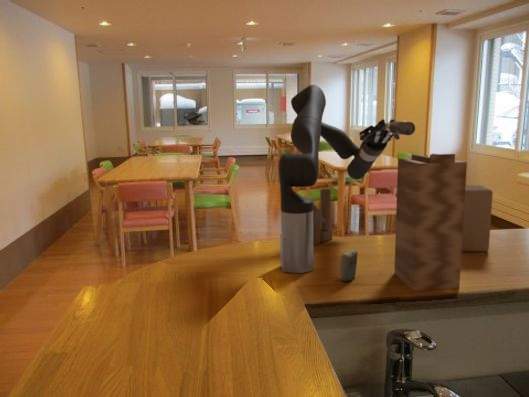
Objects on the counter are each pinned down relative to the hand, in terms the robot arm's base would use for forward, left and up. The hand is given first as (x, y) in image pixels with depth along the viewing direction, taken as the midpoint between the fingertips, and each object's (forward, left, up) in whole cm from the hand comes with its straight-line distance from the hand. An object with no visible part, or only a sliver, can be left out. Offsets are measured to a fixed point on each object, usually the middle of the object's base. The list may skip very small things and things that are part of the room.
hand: (388, 121), depth 138 cm
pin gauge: (0, -6, -3) cm, 7 cm away
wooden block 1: (-18, +16, -41) cm, 48 cm away
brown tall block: (+2, -26, -41) cm, 49 cm away
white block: (-18, -22, -41) cm, 50 cm away
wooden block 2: (+28, +1, -41) cm, 50 cm away
